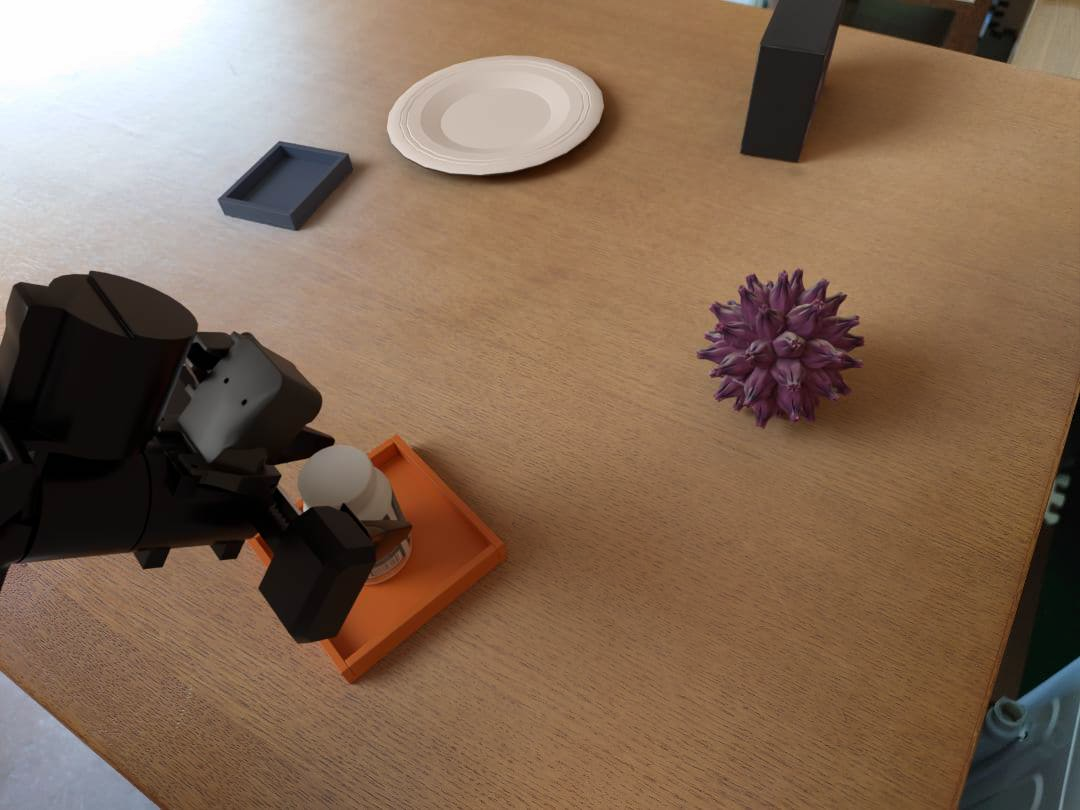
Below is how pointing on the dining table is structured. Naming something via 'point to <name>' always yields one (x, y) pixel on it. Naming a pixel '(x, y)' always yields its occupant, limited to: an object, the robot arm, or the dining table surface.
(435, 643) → the dining table surface
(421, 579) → the orange tray
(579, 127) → the plate
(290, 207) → the blue tray
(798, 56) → the box
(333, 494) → the pill bottle
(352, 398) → the dining table surface
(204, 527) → the robot arm
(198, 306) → the dining table surface
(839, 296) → the flower
